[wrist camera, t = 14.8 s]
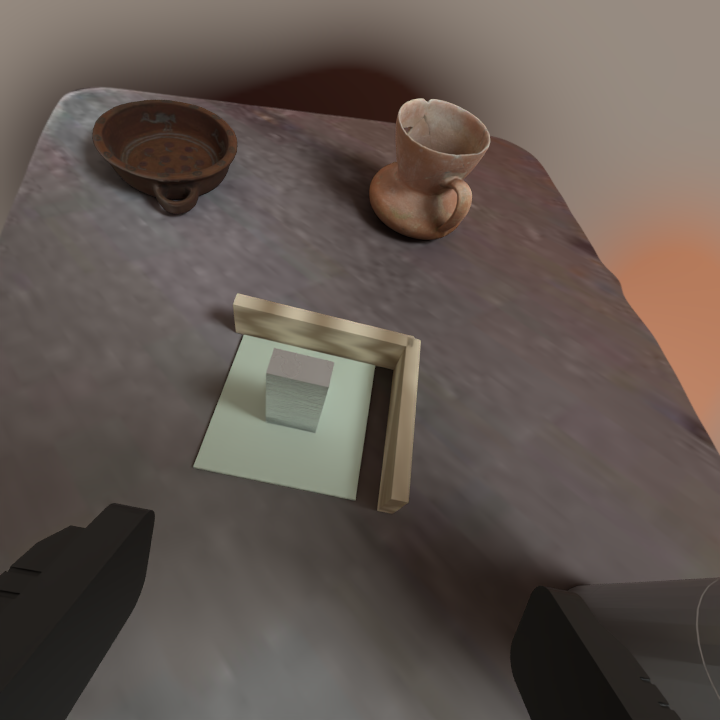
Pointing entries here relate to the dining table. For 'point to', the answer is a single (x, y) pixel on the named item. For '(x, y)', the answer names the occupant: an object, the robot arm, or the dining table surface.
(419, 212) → the ceramic jug
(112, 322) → the dining table surface
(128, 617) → the robot arm
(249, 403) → the mat
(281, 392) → the rectangular block
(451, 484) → the dining table surface
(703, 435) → the dining table surface
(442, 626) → the dining table surface
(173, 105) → the dish
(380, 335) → the corner
